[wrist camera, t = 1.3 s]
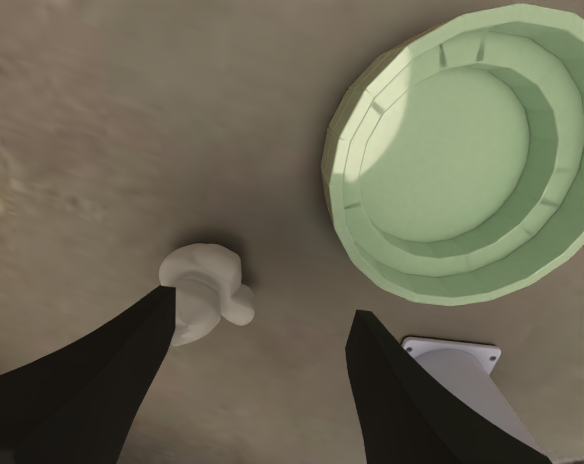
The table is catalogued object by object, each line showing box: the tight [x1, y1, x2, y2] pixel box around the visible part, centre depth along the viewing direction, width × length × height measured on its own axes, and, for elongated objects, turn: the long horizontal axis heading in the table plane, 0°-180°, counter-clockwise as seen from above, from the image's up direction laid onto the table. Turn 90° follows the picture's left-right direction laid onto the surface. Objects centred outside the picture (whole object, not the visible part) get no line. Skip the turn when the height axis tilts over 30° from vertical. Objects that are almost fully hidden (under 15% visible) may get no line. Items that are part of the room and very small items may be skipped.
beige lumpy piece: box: [159, 243, 255, 347], centre depth 19 cm, size 5×7×8 cm
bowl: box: [321, 3, 584, 306], centre depth 17 cm, size 14×14×5 cm
